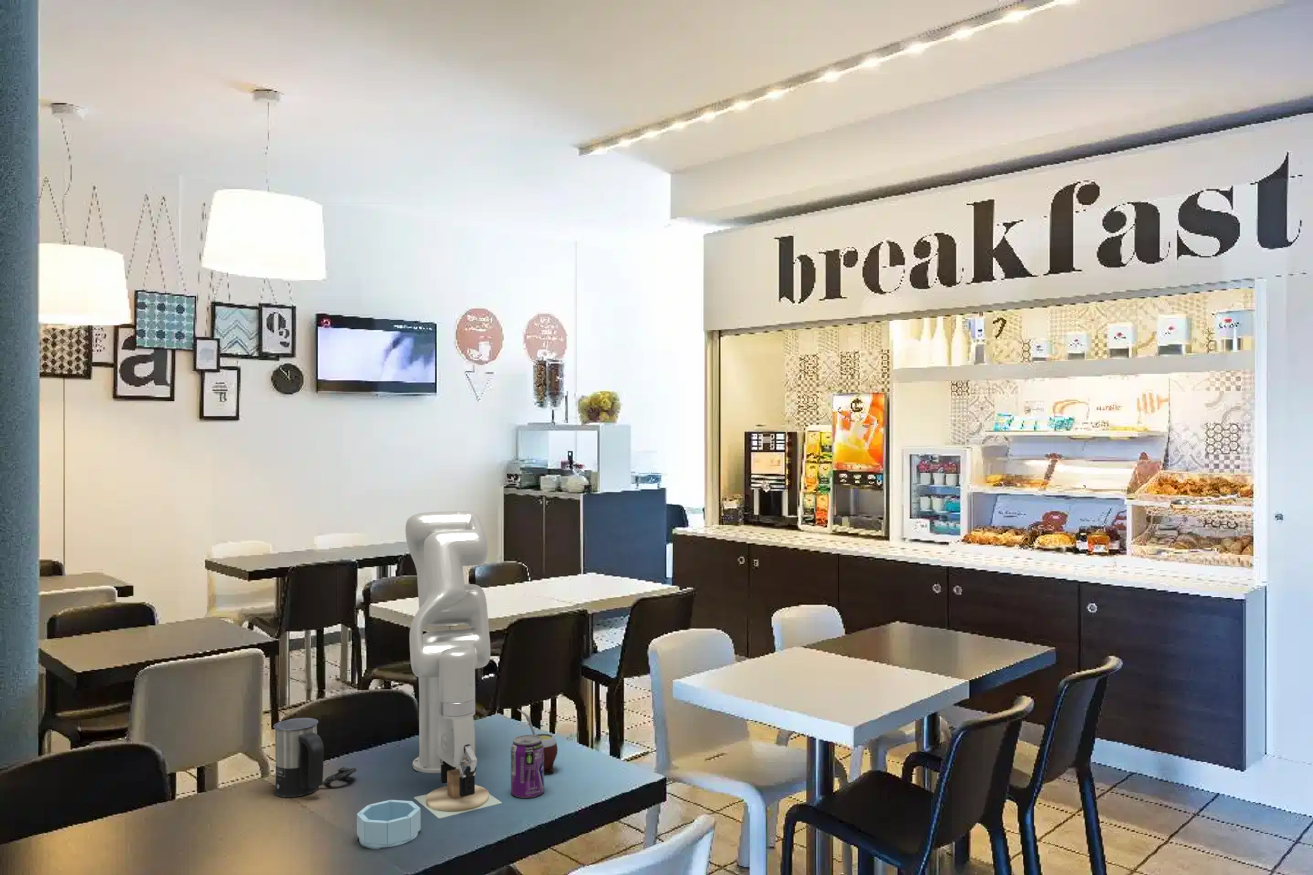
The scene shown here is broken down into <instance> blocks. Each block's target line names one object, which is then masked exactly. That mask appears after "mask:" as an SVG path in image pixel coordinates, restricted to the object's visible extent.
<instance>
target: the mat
mask: <svg viewBox="0 0 1313 875" xmlns="http://www.w3.org/2000/svg"><path fill="white" fill-rule="evenodd" d="M475 785H477V784H476V783H475ZM428 794H429V793H427V794H422V795H417V796H414V797H413V799H414V800H416V801H417V802H418V803H420V804H421V806H422V807H424V808H425V809H427V811H429V812H430V813H431V814H433V815H434V816H435V817H436V818H437V819H439V820H440V819H445V818H447V817H452V816H457V815H459V814H464V813H468V812H471V811H475V810H480V809H484V808H488V807H492V806H496V805H500V804H503V802H502V801H500V800H499V799H497V798H496V797H494V796H493V795H491V794H490V793H489V799H488V801H487V802H486V803H485V804H483V805H482V806H479V807H477V808H474V809H471V810H466V811H459V812H442V811H436V810H433V809H431V808H429V807H428V806H427V805H426V796H427V795H428Z"/></svg>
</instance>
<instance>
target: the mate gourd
mask: <svg viewBox="0 0 1313 875" xmlns="http://www.w3.org/2000/svg"><path fill="white" fill-rule="evenodd" d="M516 710H517V711H518V712H520V713H521V714H522V715H523V716H524V717H525V719H526V721H527V722H528V725H529V728H530V729H531V733H532V735H537V736H540V737H541V738H542V741H541V742H542V744H543V746H544V774H547V773H548V775H554V770H553V768H554V763H555V760H556V759H557V754H558V744H557V740H556V738H555V737H554V735H552V734H549V733H538V734H536V732H535V729H534V727H533V724H532V721H531V720H532V719H531V717H530V716H529V715H528V714H527V713H526V711H525V712H524V711H523V710H521V709H519V708H517V709H516Z"/></svg>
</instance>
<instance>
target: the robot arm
mask: <svg viewBox="0 0 1313 875" xmlns="http://www.w3.org/2000/svg"><path fill="white" fill-rule="evenodd" d="M405 523H406V524H405V539H406V544H407V548H408V552H409V553H410V557H411V559H412V561H413V563H414V566H415V567H414V568H415V570H416V575H417V595H418V597H417V598H418V610H417V611H416V613H415V615H414V617H413V619H412V621H411V625H410V628H409V652H410V653H409V654H410V655H409V656H410V658H409V659H410V667H411V670H412V673H413V675H415V676H416V677H417V678H418V694H419V695H418V696H419V697H418V699H419V700H418V701H419V704H418V705H419V706H418V707H419V710H418V711H419V713H418V715H419V717H418V719H419V720H418V722H419V723H418V725H419V726H418V727H419V728H418V729H419V730H418V731H419V737H418V739H419V740H418V741H419V742H418V743H419V745H418V746H419V748H418V749H419V753H418V754H419V755H418V756H417V757H416V758H415V759H414V760H413V761H412V769H414V770H415V771H417V772H420V773H426V774H440V783H441V784H447V771H450V770H455V769H459V770H460V774H461V777H459V795H460V796H461V797H464V796H469V795H473V794H474V793H475V784H476V782H475V781H476V777H475V776H476V771H477V763H478V758H477V757H476V733H475V722H474V721H475V720H474V716H475V714H476V669H482V668H483V667H486V666H487V665H488V664H489V662H490V659H491V638H490V626H489V614H488V605H487V598H486V595H485V592H484V589H483V588H482V587H481V586H480V585H478V584H474V583H472V584H471V583H465V579H464V568H463V567H468V566H470V567H473V566H481V565H484V563H485V562H486V561H487V557H488V553H489V552H488V541H487V538H486V533H485V530H484V528H483V525H482V523H481V521H480V518H479V516H478V514H476V513H475V512H474V511H471V510H469V511H468V510H463V511H461V510H459V511H458V510H456V511H428V512H420V513H416V514H412V515H411V516H409V517H408V518H407V520H406V522H405ZM425 625H426V626H431V627H432V626H433V627H440V626H454V625H466V626H467V628H459V629H442V630H433V631H428V632H426V633H423V631H424V628H425ZM464 767H465V768H464Z"/></svg>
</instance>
